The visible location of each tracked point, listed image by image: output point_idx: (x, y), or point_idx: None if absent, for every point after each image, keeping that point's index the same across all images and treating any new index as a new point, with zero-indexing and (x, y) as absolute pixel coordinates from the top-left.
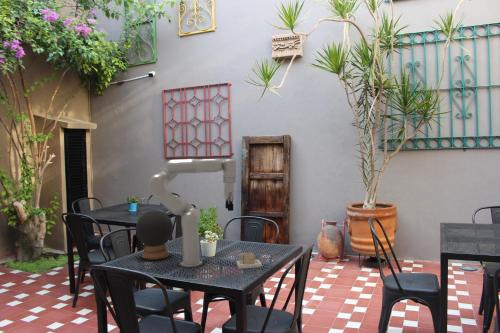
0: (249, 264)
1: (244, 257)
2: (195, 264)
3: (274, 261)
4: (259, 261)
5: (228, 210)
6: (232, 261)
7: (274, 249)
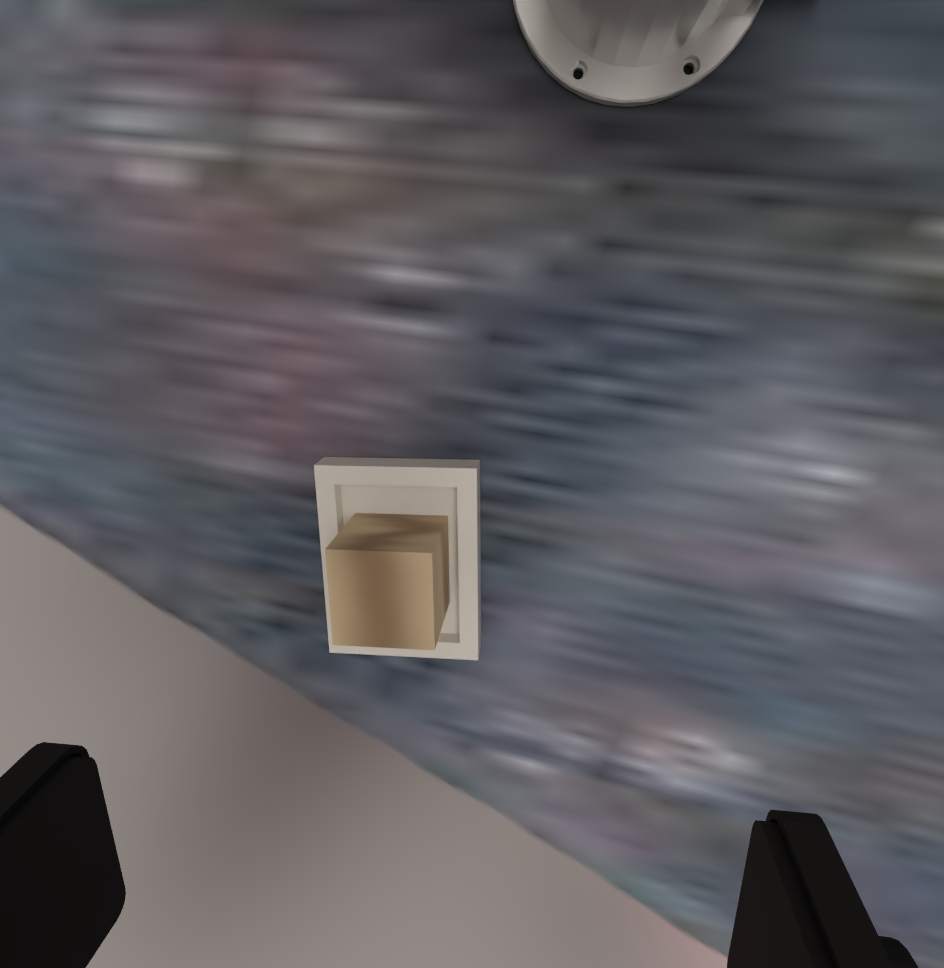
0: (324, 555)
1: (331, 542)
2: (524, 8)
3: (485, 765)
4: (403, 653)
5: (46, 763)
6: (607, 445)
7: (913, 887)
